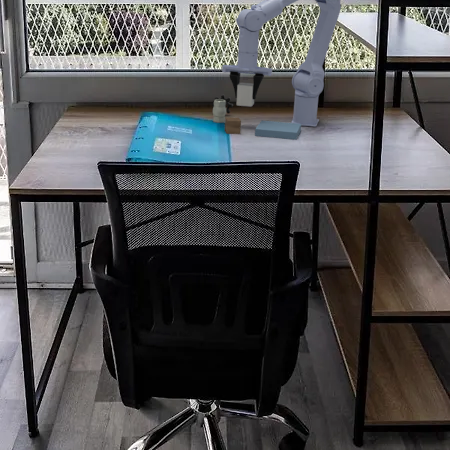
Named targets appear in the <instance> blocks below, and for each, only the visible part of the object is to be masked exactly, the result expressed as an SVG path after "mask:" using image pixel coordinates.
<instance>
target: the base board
mask: <svg viewBox="0 0 450 450" xmlns="http://www.w3.org/2000/svg"><path fill="white" fill-rule="evenodd" d="M254 131H255V132H254V136H255V137H264V138H276V139H286V140H297V139H298V137H299V135H300V133H301V131H302V125H301V124H296V123H291V122H283V121H273V120H272V121H271V120H261V121H260V122H259V123H258V125H257V126H256V128H255V130H254Z"/></svg>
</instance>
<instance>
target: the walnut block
mask: <svg viewBox="0 0 450 450" xmlns="http://www.w3.org/2000/svg"><path fill="white" fill-rule="evenodd" d="M241 127H242V120H241V119H240V118H239V117H226V116H225V121H224V132H225V133H226V134H228V135H241V130H242V129H241Z"/></svg>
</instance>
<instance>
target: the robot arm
mask: <svg viewBox="0 0 450 450" xmlns="http://www.w3.org/2000/svg"><path fill="white" fill-rule="evenodd" d="M298 1H299V0H262V1H260V2H258V3H257V4H252V5H251V8H250V9H249V8H244V9H242V10H241V11H240V12H239V14H238V16H237V18H236V19H235V21H236V24H237V26H238V28H239V32H238V49H237V51H238V52H237V53H238V54H237V64H223V65H222V68H221V69H222V70H221V71H222V73H229V78H230V81H231V83H232V86H233V89H234V97H235V99H237V85H238V84H239V83H241V82H240V79H241V74H245V75H246V74H247V75H253V79H252V80H253V84H254V85H253V99H254V101H255V100H256V99H257V94H258V90H259V89H260V88H259V87H260V85H261V83H262V81H263V78H264V77H265V76H268V77H271V76H272V74H273V68H271V67H263V66H258V56H259V37H260V36H259V35H260V30H261V29H262V28H263V26H264V25H265V24H266V23H268V22H269V21H271V20H272V19H275V18H276V17H278V16H279V15H282V13H283V9H285V8H286V7H287V6H289V5H291V4H294V3H296V2H298ZM314 1H315V2H316V3H317V5H318V7H319V9H320V14H319V17H318V20H317V23H316V25H315V28H314V33H313V35H312V38H311V42H310V44H309V47H308V48H309V49H308V51H307V54H306V57H305V60H304V61H303V62H302V63H301V64H300V65H299V66H298V68H297V71H296V72H295V73H294V74H293V76H292V79H291V84H292V88H293V89H294V103H293V117H292V120H291V122H290V123H296V124H301V127H302V126H303V127H312V128H313V127H317V126H318V123H319V120H320V119H319V118H318V117H317V116H318V115H317V114H318V108H319V107H318V105H319V96H320V94H321V93H322V92H323V90H324V85H325V83H324V80H325V79H324V78H325V76H326V73H325V71H324V68H323V65H324V62H325V58H326V55H327V54H328V53H327V52H328V49H329V46H330V43H331V40H332V38H333V34H334V31H335V28H336V25H337V22H338V20H339V16H340V12H341V10H342V8H341V7H342V6H341V5H342V3H341V0H314Z"/></svg>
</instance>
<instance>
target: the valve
mask: <svg viewBox="0 0 450 450" xmlns="http://www.w3.org/2000/svg"><path fill="white" fill-rule="evenodd" d="M225 97H226V95H225V94H221V95H220V98H219V96H215V97H214V102H213V103H212V104H211V106H212V107H213V108H212V115H213V119H212V120H213V123H218V124H219V123H225V117H226V115H227V114H230V113H231V110H230V108H233V106H234V104H233V103H230V102H231V100H232V99H231V97H227V98H225ZM226 106H227V107H226Z"/></svg>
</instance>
